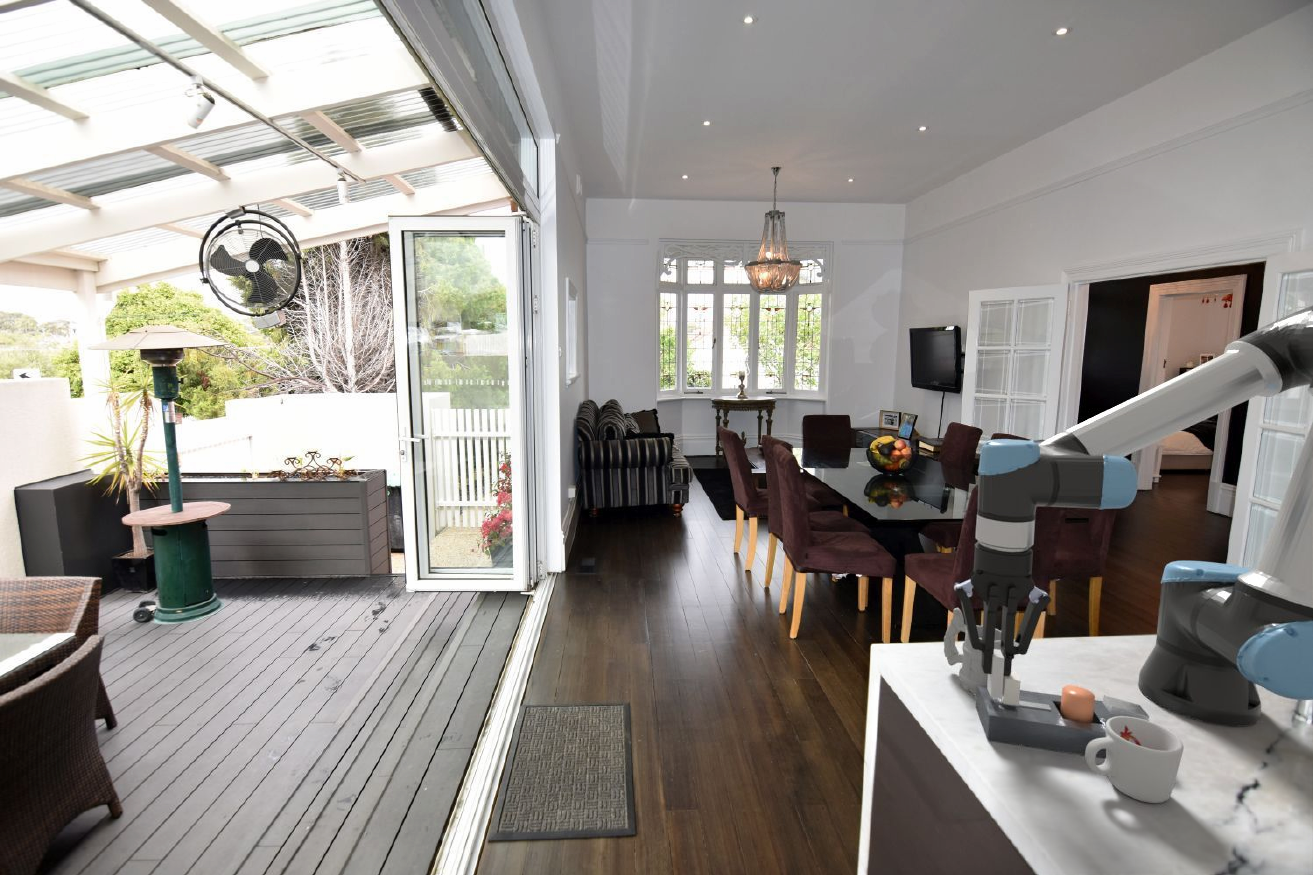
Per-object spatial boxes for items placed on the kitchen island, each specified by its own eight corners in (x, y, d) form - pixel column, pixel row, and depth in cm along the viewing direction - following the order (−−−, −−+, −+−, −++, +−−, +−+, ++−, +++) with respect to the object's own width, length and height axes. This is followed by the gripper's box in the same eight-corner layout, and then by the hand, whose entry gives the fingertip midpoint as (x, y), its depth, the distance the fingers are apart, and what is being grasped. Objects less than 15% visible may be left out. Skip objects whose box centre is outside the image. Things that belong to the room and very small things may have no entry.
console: (1128, 729, 94) (1131, 700, 93) (1156, 766, 86) (1160, 735, 85) (975, 707, 100) (977, 680, 100) (987, 740, 92) (989, 710, 91)
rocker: (1137, 711, 91) (1139, 705, 91) (1147, 723, 88) (1149, 716, 88) (1102, 701, 92) (1104, 695, 92) (1110, 713, 89) (1112, 706, 89)
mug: (989, 704, 101) (994, 634, 99) (928, 671, 112) (932, 608, 110) (1019, 693, 104) (1024, 625, 103) (957, 662, 115) (961, 600, 113)
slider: (1013, 695, 95) (1015, 670, 95) (1018, 705, 93) (1020, 680, 92) (999, 693, 96) (1000, 669, 95) (1003, 703, 93) (1005, 678, 93)
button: (1086, 717, 93) (1089, 687, 93) (1096, 732, 89) (1099, 701, 89) (1056, 713, 94) (1058, 683, 94) (1064, 728, 91) (1067, 697, 90)
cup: (1104, 810, 78) (1110, 751, 77) (1065, 768, 85) (1070, 714, 84) (1194, 812, 77) (1200, 753, 76) (1146, 770, 85) (1152, 715, 84)
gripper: (1046, 540, 93) (1035, 686, 96) (951, 533, 97) (944, 675, 100) (1062, 555, 86) (1050, 713, 89) (959, 548, 90) (951, 699, 93)
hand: (994, 693), depth 95 cm, fingers closed
